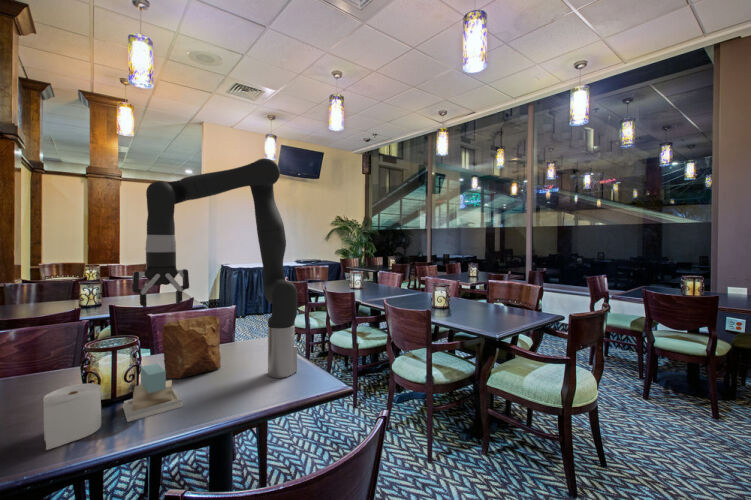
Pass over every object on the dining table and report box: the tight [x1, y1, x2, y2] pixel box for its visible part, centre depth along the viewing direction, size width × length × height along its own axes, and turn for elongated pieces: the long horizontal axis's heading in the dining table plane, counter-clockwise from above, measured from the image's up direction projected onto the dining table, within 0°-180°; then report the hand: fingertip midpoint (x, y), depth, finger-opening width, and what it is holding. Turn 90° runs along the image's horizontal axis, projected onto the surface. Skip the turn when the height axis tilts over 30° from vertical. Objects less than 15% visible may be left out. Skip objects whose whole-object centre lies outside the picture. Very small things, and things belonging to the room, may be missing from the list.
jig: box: [122, 388, 184, 423], centre depth 98 cm, size 13×10×2 cm
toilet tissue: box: [42, 382, 102, 451], centre depth 85 cm, size 11×12×10 cm
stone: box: [161, 315, 222, 380], centre depth 123 cm, size 19×11×20 cm, turn 122°
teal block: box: [140, 362, 167, 393], centre depth 98 cm, size 4×9×5 cm, turn 46°
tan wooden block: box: [132, 379, 173, 411], centre depth 98 cm, size 9×5×5 cm, turn 120°
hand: (161, 305), depth 103 cm, fingers open, 8 cm apart
